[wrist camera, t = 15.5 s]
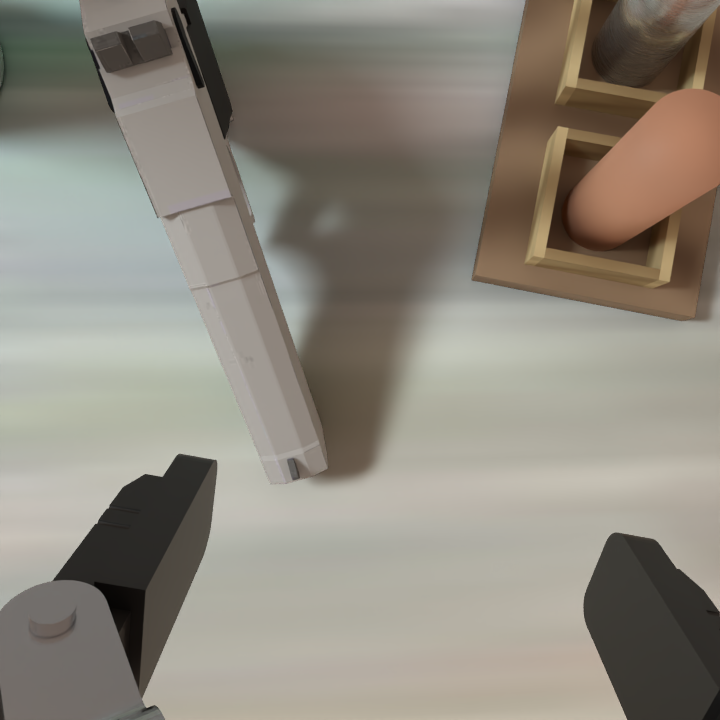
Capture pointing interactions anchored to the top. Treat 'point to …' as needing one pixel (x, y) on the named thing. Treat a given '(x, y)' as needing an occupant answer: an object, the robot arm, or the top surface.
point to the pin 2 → (648, 172)
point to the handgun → (206, 213)
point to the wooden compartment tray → (587, 169)
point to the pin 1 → (645, 38)
